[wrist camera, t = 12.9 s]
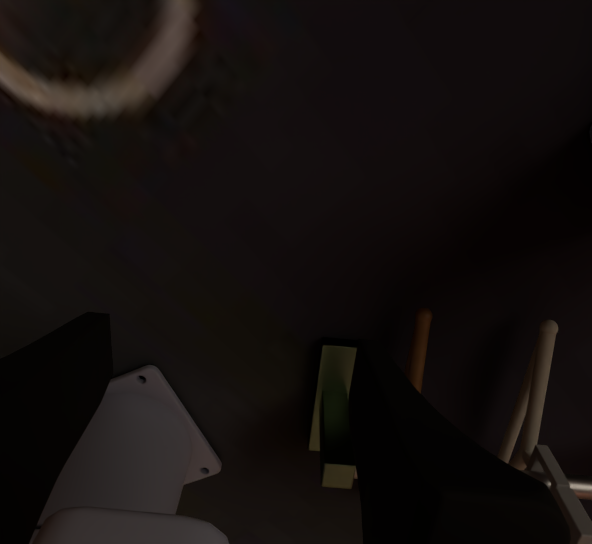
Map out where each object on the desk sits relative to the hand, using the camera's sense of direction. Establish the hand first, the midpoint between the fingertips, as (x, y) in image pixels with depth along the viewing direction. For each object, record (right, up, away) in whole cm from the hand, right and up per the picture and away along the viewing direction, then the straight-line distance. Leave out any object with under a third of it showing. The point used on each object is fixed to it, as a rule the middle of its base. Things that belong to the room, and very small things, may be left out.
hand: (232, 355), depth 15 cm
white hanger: (+13, -5, +13) cm, 20 cm away
